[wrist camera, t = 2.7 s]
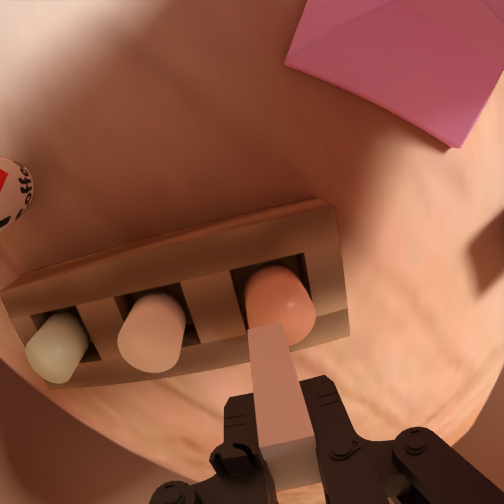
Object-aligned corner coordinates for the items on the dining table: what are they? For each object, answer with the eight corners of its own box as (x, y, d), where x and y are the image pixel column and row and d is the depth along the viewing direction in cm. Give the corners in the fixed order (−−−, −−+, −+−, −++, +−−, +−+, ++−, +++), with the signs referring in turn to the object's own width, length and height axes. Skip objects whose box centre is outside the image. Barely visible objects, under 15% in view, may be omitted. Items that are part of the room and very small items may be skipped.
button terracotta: (237, 270, 26) (240, 297, 21) (295, 256, 26) (310, 280, 21) (250, 320, 28) (256, 354, 23) (304, 307, 28) (319, 338, 23)
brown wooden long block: (22, 274, 29) (-2, 292, 24) (316, 197, 29) (334, 206, 24) (65, 364, 32) (49, 389, 28) (333, 310, 33) (350, 335, 28)
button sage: (40, 315, 26) (16, 341, 21) (77, 307, 26) (55, 335, 21) (61, 355, 27) (42, 384, 23) (97, 350, 27) (80, 382, 23)
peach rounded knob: (125, 296, 26) (107, 325, 21) (176, 285, 26) (167, 313, 21) (144, 342, 28) (132, 376, 23) (193, 333, 28) (188, 367, 23)
